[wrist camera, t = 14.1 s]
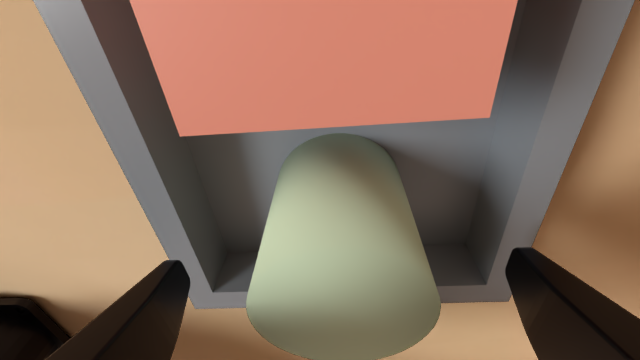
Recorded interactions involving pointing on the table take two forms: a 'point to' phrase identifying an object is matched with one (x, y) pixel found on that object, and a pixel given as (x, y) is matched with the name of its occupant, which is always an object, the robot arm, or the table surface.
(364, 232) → the green cylinder
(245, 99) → the red cube
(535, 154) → the serving tray
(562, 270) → the robot arm
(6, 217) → the table surface
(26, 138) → the table surface
